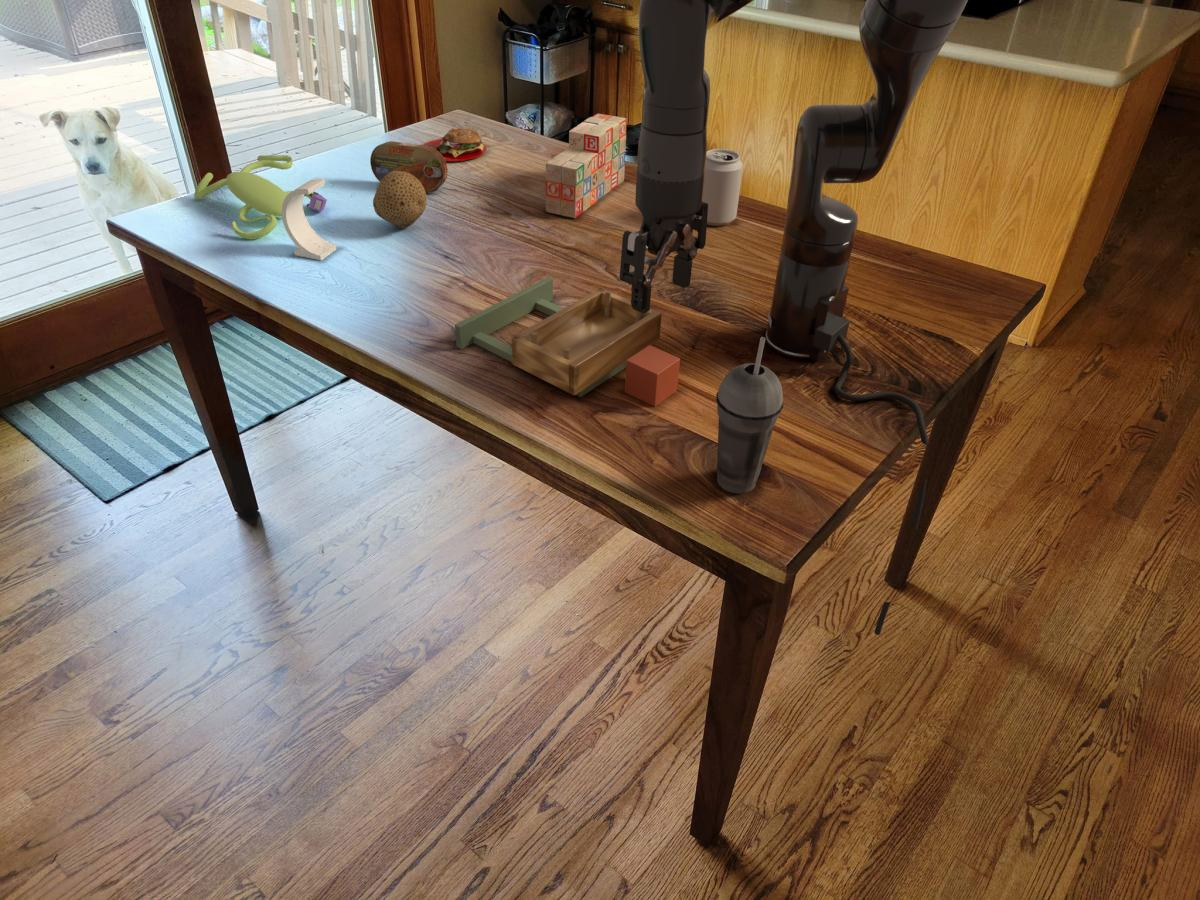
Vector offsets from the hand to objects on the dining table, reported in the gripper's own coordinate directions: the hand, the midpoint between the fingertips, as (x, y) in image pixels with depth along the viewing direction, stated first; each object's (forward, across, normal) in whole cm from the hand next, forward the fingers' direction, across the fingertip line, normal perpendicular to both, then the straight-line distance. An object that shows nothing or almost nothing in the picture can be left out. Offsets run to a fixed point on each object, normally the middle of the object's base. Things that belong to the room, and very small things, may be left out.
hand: (661, 297), depth 106 cm
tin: (+14, +26, +76) cm, 81 cm away
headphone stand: (+14, -3, +67) cm, 69 cm away
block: (+14, 0, +1) cm, 14 cm away
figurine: (+14, +2, +89) cm, 90 cm away
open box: (+13, 0, +12) cm, 17 cm away
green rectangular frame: (+14, 0, +17) cm, 22 cm away
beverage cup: (+14, -8, -18) cm, 24 cm away
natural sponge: (+14, +12, +63) cm, 66 cm away
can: (+14, +53, +24) cm, 60 cm away
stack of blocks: (+14, +45, +48) cm, 68 cm away
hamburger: (+14, +45, +84) cm, 96 cm away
